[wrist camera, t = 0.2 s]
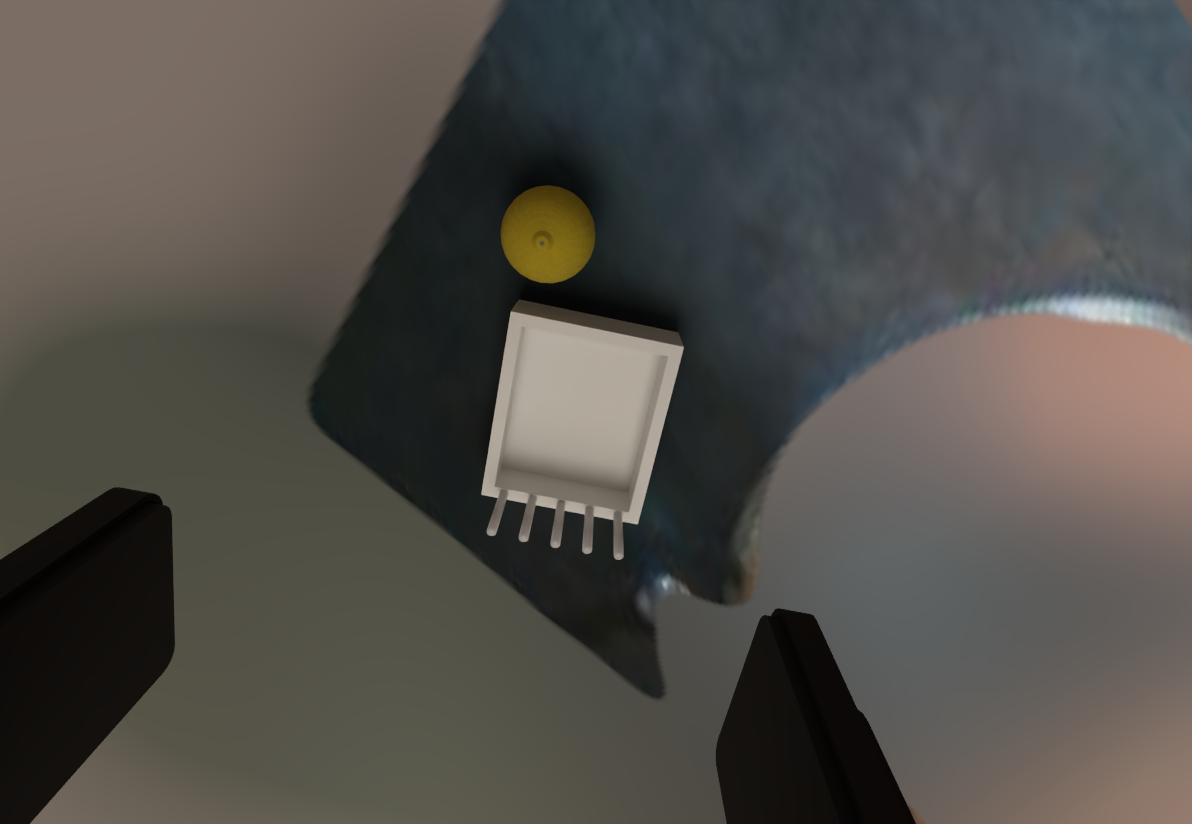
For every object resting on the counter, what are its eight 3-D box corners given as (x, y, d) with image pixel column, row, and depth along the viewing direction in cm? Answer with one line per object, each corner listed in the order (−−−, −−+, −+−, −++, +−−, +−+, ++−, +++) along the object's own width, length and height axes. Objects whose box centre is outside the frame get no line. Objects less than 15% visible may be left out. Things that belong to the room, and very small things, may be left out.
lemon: (494, 232, 43) (469, 247, 36) (549, 164, 41) (535, 164, 34) (558, 289, 44) (548, 315, 37) (614, 225, 43) (615, 238, 35)
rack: (518, 299, 44) (498, 330, 36) (678, 332, 45) (693, 370, 37) (490, 470, 49) (466, 532, 41) (635, 498, 50) (640, 565, 41)
